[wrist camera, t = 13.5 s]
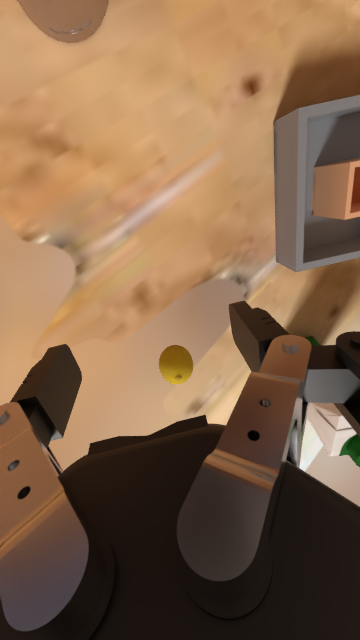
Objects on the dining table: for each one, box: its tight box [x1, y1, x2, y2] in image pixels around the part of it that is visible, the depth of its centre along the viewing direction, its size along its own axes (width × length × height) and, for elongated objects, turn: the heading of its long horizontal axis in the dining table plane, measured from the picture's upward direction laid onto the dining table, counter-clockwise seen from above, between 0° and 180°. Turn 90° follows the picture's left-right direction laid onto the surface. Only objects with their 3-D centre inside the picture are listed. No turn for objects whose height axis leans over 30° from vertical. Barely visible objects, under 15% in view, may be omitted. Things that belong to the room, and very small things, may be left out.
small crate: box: [312, 158, 360, 220], centre depth 33 cm, size 6×6×7 cm
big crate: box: [274, 95, 360, 272], centre depth 34 cm, size 18×16×6 cm
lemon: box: [159, 345, 193, 384], centre depth 42 cm, size 6×6×8 cm
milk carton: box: [306, 337, 360, 467], centre depth 40 cm, size 9×9×20 cm
